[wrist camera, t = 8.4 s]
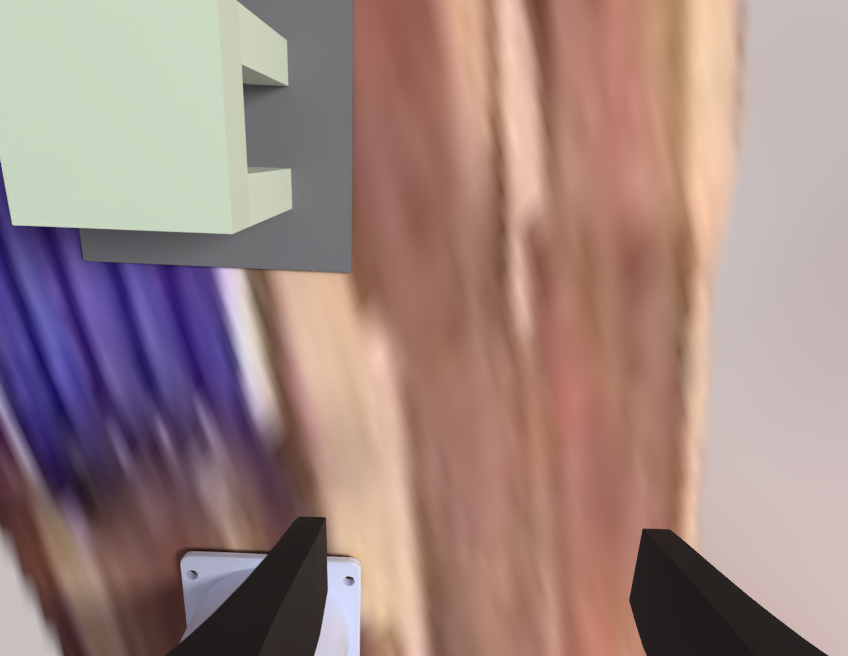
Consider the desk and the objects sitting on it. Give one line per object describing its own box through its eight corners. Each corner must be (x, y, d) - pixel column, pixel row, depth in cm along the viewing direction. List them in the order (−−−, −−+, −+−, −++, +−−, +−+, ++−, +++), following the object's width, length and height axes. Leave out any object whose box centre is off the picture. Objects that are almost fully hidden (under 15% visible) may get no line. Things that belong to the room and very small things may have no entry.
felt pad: (352, 271, 21) (350, 272, 21) (88, 259, 21) (83, 260, 21) (353, -31, 18) (352, -34, 18) (44, -46, 18) (39, -49, 18)
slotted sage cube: (292, 208, 20) (232, 234, 14) (140, 202, 20) (12, 225, 14) (287, 40, 18) (216, -16, 12) (121, 33, 18) (-34, -27, 12)
